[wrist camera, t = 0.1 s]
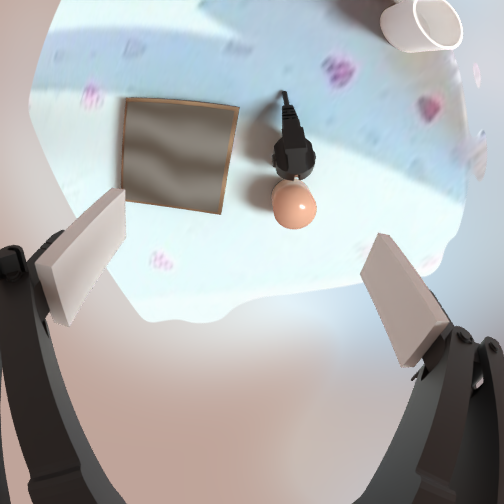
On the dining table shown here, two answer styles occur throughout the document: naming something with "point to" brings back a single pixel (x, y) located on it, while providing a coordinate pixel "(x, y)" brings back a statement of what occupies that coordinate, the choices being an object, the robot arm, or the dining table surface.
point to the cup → (422, 26)
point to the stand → (177, 152)
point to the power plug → (292, 147)
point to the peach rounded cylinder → (293, 204)
